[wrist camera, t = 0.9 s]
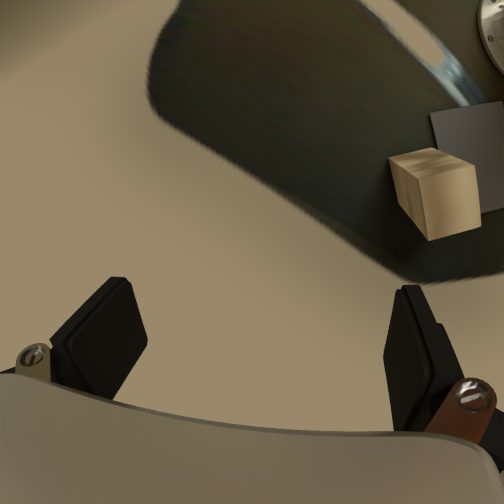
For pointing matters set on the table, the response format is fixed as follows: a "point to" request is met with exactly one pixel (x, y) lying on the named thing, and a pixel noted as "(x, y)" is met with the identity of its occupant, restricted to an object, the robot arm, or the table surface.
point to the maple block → (437, 192)
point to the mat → (476, 146)
